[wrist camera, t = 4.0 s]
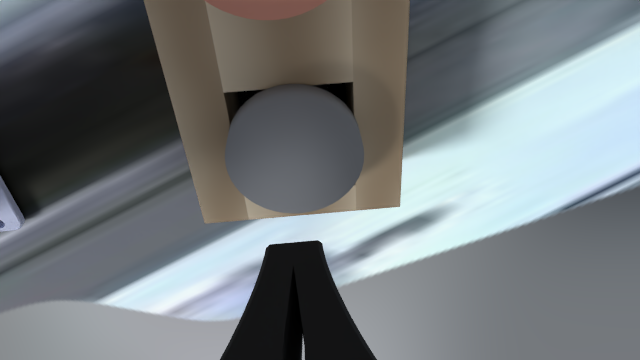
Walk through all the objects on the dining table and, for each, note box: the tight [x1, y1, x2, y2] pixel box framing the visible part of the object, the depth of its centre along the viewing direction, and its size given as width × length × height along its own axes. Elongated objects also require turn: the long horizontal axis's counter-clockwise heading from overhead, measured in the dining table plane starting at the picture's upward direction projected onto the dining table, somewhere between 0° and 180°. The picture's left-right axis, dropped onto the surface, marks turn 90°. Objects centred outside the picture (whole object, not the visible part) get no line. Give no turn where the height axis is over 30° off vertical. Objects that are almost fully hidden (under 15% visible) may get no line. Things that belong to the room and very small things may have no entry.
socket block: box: [144, 0, 410, 223], centre depth 16 cm, size 8×15×3 cm, turn 3°
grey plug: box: [225, 84, 364, 213], centre depth 18 cm, size 5×5×4 cm
